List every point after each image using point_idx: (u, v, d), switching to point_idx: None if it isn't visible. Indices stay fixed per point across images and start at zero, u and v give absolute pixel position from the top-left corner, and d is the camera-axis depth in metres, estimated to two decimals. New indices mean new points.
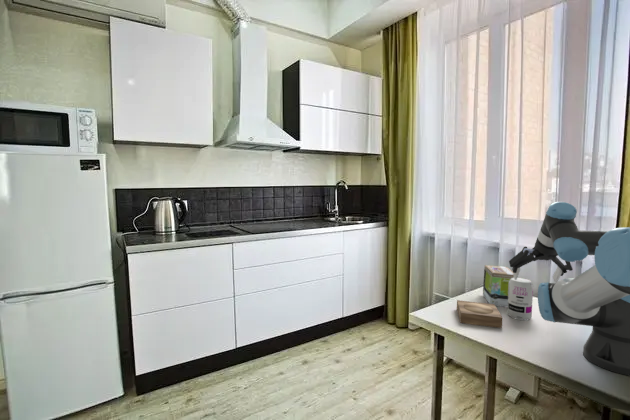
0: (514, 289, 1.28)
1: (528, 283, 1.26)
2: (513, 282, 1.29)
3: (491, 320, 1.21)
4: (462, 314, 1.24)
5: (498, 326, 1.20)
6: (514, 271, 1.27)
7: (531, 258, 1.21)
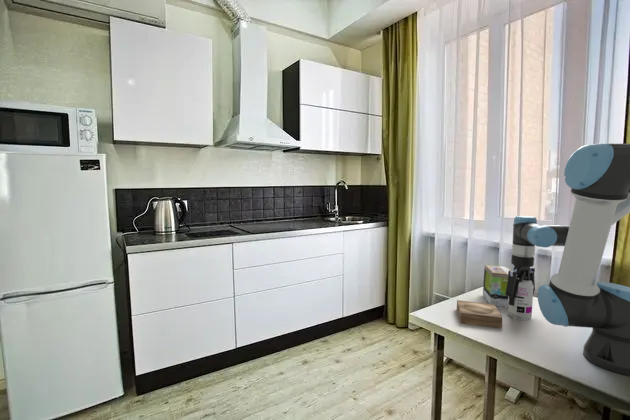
0: None
1: (528, 283, 1.26)
2: None
3: (491, 320, 1.21)
4: (462, 314, 1.24)
5: (498, 326, 1.20)
6: (513, 303, 1.27)
7: (519, 280, 1.27)
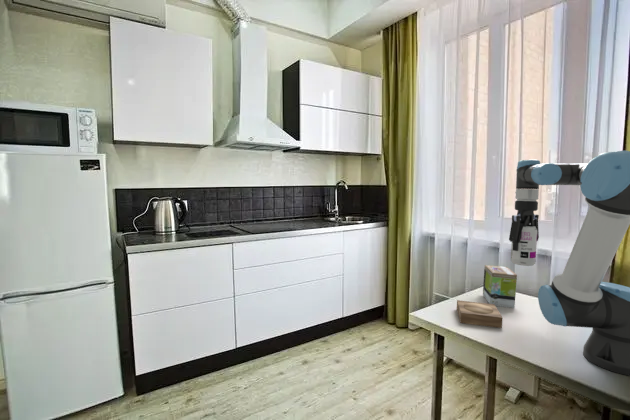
0: None
1: (532, 228, 1.24)
2: None
3: (491, 320, 1.21)
4: (462, 314, 1.24)
5: (498, 326, 1.20)
6: (516, 248, 1.25)
7: (522, 224, 1.25)
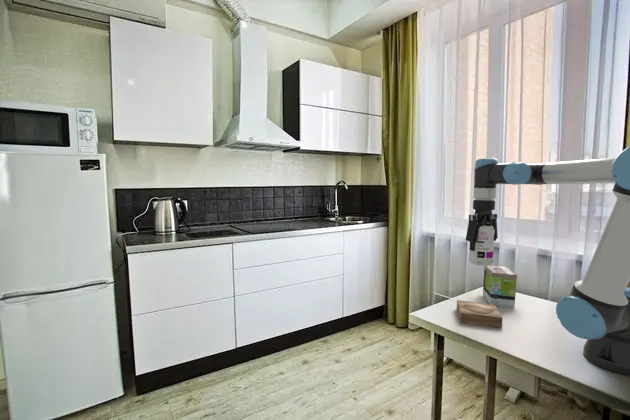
0: None
1: (489, 227, 1.22)
2: None
3: (491, 320, 1.21)
4: (462, 314, 1.24)
5: (498, 326, 1.20)
6: (473, 248, 1.23)
7: (479, 224, 1.23)
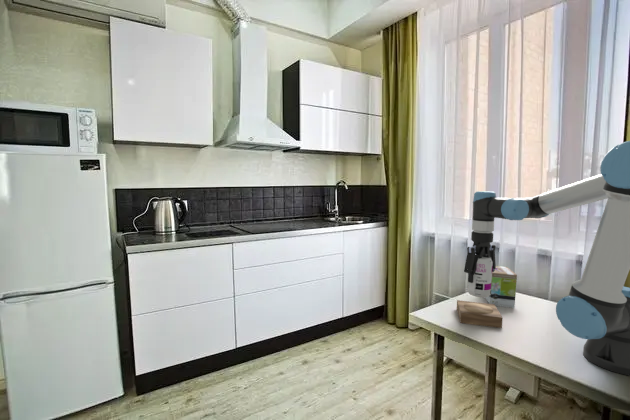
0: None
1: (487, 260, 1.23)
2: None
3: (491, 320, 1.21)
4: (462, 314, 1.24)
5: (498, 326, 1.20)
6: (471, 280, 1.24)
7: (477, 256, 1.24)
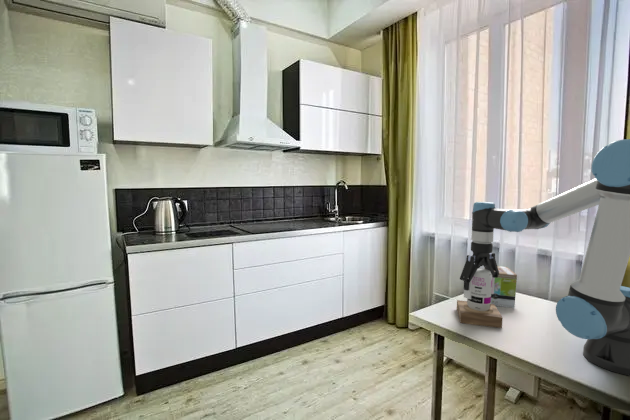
0: (473, 279, 1.25)
1: (487, 273, 1.24)
2: None
3: (491, 320, 1.21)
4: (462, 314, 1.24)
5: (498, 326, 1.20)
6: (467, 288, 1.24)
7: (476, 265, 1.24)
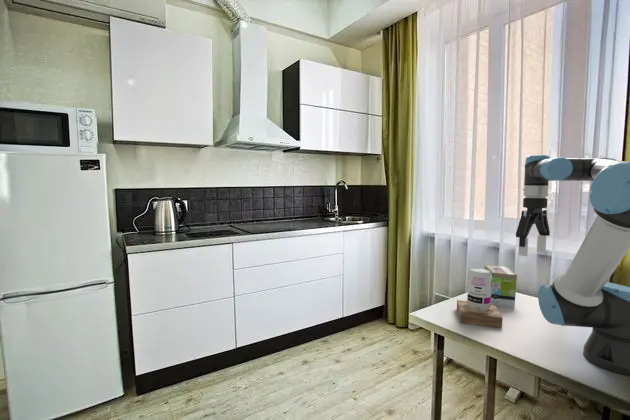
0: (473, 279, 1.25)
1: (486, 273, 1.24)
2: (472, 272, 1.26)
3: (491, 320, 1.21)
4: (462, 314, 1.24)
5: (498, 326, 1.20)
6: (524, 244, 1.17)
7: (531, 221, 1.19)
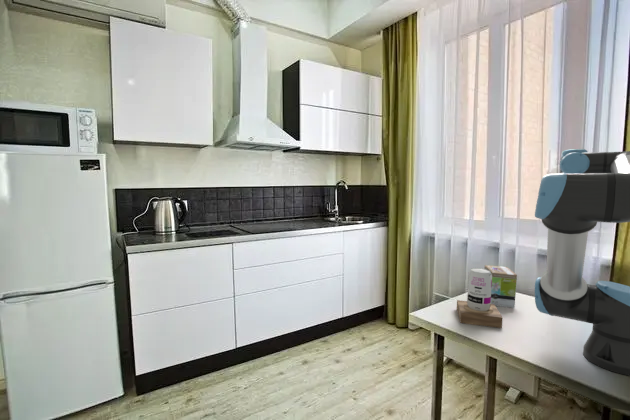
0: (473, 280, 1.25)
1: (486, 273, 1.24)
2: (472, 272, 1.26)
3: (491, 320, 1.21)
4: (462, 314, 1.24)
5: (498, 326, 1.20)
6: None
7: None
